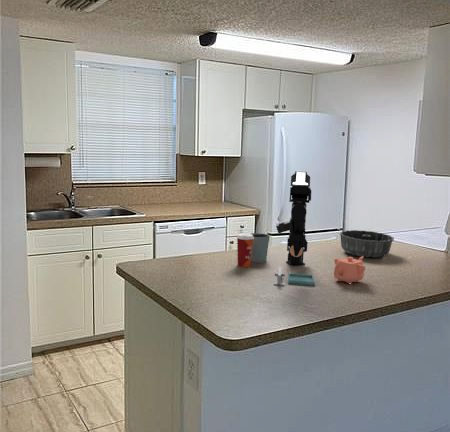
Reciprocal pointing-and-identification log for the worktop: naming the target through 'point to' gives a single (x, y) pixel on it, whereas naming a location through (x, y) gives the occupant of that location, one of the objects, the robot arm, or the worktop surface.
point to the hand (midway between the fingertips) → (296, 254)
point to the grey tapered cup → (259, 247)
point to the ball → (293, 252)
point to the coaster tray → (301, 279)
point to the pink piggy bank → (349, 269)
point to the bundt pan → (366, 243)
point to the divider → (279, 276)
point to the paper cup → (244, 249)
